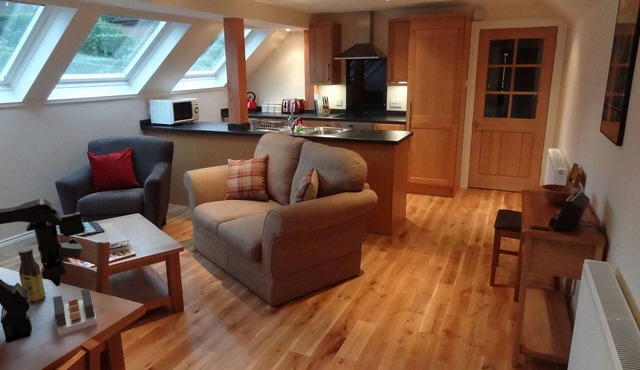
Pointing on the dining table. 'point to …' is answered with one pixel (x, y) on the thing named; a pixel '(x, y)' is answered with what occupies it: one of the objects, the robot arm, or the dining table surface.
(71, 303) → the paddle far
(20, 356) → the dining table surface
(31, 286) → the sauce bottle
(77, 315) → the paddle near
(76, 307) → the block
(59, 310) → the dark grey bar
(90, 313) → the dark gray bar
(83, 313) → the board
